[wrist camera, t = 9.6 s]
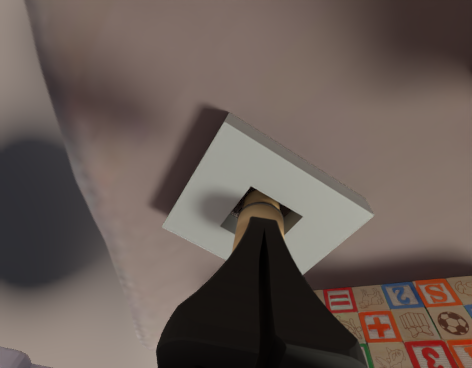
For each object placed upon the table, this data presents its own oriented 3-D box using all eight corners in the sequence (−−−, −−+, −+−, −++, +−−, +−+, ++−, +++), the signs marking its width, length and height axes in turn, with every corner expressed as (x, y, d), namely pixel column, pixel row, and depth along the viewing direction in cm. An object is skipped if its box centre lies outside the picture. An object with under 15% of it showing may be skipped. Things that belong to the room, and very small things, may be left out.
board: (365, 198, 23) (374, 215, 21) (283, 271, 29) (284, 290, 27) (229, 112, 20) (224, 121, 18) (170, 211, 26) (161, 227, 24)
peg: (289, 195, 23) (295, 246, 18) (272, 226, 26) (272, 280, 20) (249, 180, 23) (242, 228, 18) (235, 213, 25) (224, 264, 20)
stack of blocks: (517, 268, 25) (697, 443, 14) (506, 308, 28) (650, 478, 17) (294, 291, 30) (307, 429, 20) (304, 322, 33) (320, 457, 23)
